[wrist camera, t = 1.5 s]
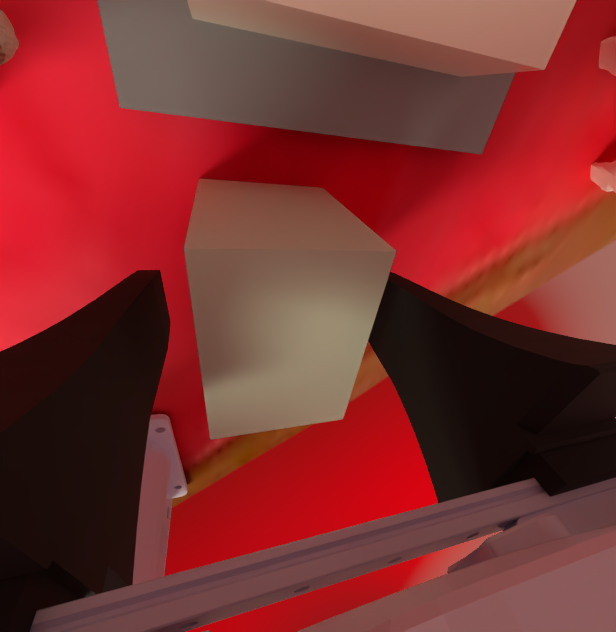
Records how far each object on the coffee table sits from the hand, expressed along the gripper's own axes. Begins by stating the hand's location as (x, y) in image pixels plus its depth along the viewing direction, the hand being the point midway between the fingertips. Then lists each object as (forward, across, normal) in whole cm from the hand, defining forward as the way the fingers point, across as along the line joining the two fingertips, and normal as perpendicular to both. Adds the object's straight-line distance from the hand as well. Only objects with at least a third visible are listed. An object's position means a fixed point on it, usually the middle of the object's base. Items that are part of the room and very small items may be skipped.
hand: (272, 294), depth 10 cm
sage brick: (+3, 0, 0) cm, 3 cm away
